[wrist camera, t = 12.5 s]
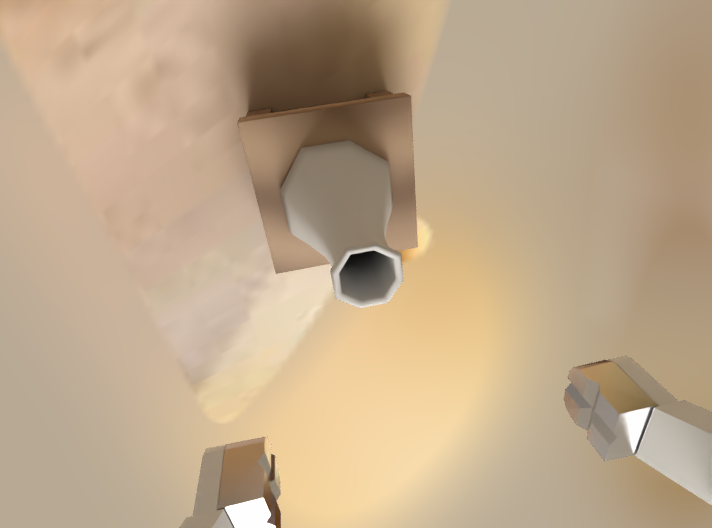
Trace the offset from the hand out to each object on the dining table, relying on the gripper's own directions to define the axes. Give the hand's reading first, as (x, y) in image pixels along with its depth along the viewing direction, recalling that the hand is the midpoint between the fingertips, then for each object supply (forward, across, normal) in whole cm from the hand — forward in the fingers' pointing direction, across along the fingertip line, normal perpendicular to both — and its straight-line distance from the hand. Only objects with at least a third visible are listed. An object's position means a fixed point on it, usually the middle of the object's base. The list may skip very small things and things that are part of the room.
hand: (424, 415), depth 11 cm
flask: (+18, 0, 0) cm, 18 cm away
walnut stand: (+23, 0, 0) cm, 23 cm away
